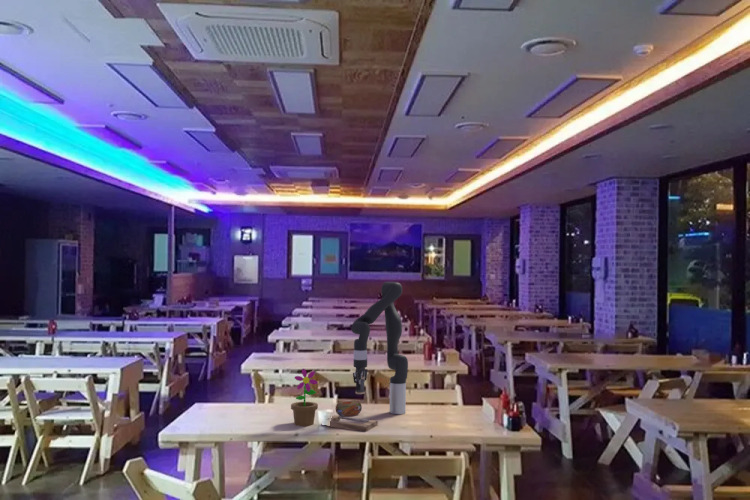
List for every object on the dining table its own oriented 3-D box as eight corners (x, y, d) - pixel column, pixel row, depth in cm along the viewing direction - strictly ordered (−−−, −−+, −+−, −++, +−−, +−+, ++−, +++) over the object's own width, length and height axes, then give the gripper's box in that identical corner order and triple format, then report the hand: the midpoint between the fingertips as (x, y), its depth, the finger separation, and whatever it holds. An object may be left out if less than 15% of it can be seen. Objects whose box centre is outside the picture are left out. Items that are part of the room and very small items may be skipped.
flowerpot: (292, 427, 340) (293, 369, 341) (288, 421, 354) (289, 365, 354) (320, 426, 344) (320, 368, 344) (315, 419, 358) (315, 364, 358)
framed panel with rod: (334, 419, 358) (334, 415, 358) (377, 425, 347) (377, 420, 347) (321, 425, 346) (321, 420, 346) (366, 431, 335) (366, 426, 335)
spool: (357, 391, 361) (358, 375, 361) (366, 392, 359) (366, 376, 359) (353, 393, 356) (353, 377, 356) (362, 394, 354) (362, 378, 354)
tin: (336, 417, 365) (336, 401, 365) (334, 415, 368) (334, 400, 368) (361, 415, 371) (362, 400, 371) (359, 413, 374) (360, 399, 374)
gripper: (360, 360, 350) (360, 392, 350) (372, 357, 363) (372, 388, 363) (348, 359, 353) (348, 391, 353) (359, 356, 366) (359, 386, 366)
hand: (360, 389), depth 358 cm, fingers closed on spool, 4 cm apart
